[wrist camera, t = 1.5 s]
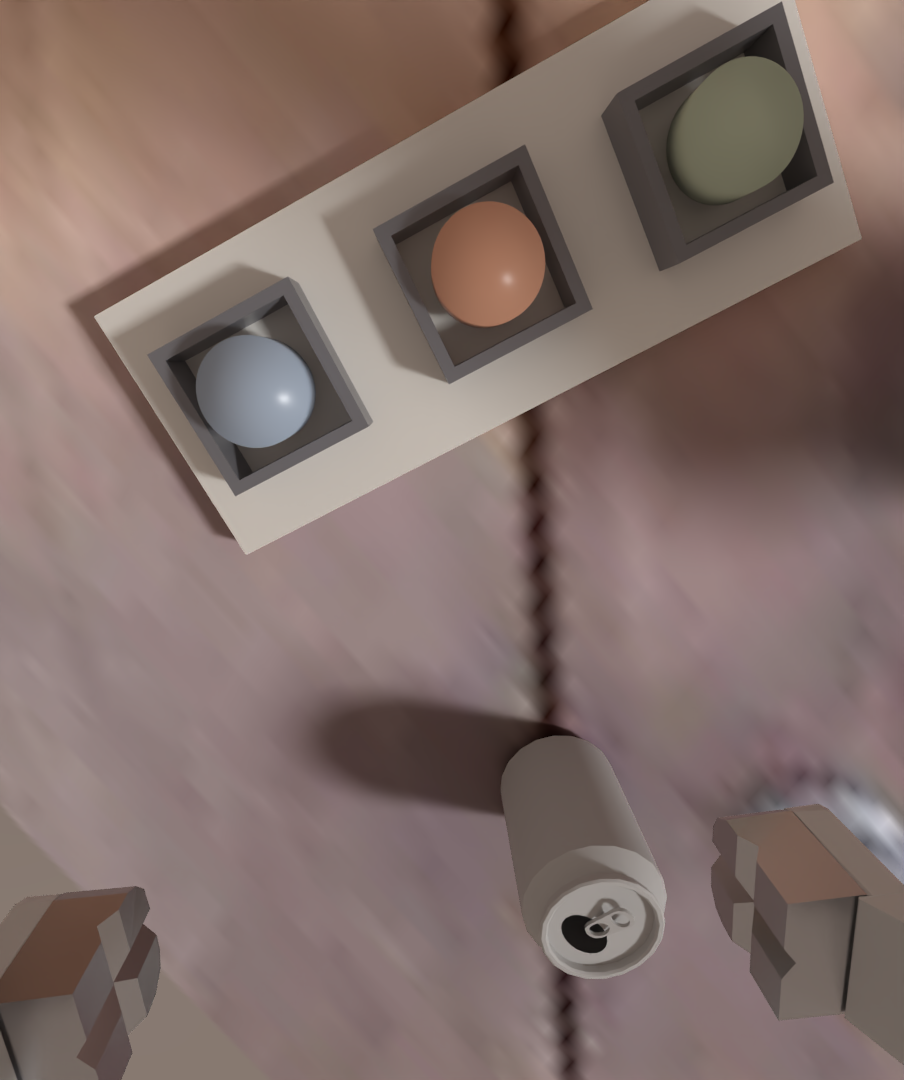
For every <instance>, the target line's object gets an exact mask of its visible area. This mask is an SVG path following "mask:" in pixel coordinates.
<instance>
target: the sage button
mask: <svg viewBox="0 0 904 1080" xmlns="http://www.w3.org/2000/svg"><path fill="white" fill-rule="evenodd" d="M803 123H804V111H803V103H802V99H801V95H800V92H799V89H798V87H797V85H796V83H795V81H794V80H793V78H792V77H791V76H790V74H789V73H788V72H787V71H786V70H785V69H784V68H783V67H781V66H780V65H779V64H777V63H775V62H773V61H772V60H769V59H766V58H762V57H757V56H747V57H741V58H737V59H734V60H731V61H729V62H727V63H725V64H723V65H722V66H720V67H719V68H717V69H716V70H715V71H714V72H712V73H711V74H710V75H709V76H708V77H707V78H706V79H705V80H704V81H703V82H702V83H701V84H700V85H699V86H698V87H697V88H696V90H695V91H694V92H693V93H692V94H691V95H690V96H689V97H688V98H687V99H686V100H685V101H684V102H683V103H682V105H681V106H680V107H679V109H678V110H677V112H676V114H675V116H674V118H673V120H672V122H671V125H670V128H669V132H668V137H667V145H666V155H667V163H668V167H669V170H670V173H671V176H672V178H673V180H674V181H675V183H676V185H677V186H678V187H679V189H680V190H681V191H682V192H683V193H684V194H685V195H686V196H688V197H689V198H691V199H692V200H694V201H696V202H698V203H702V204H705V205H724V204H728V203H732V202H734V201H736V200H738V199H740V198H742V197H744V196H746V195H748V194H750V193H752V192H754V191H756V190H758V189H759V188H761V187H763V186H765V185H767V184H768V183H770V182H771V181H773V180H774V179H775V178H776V177H778V176H779V174H780V173H781V172H782V171H783V170H784V169H785V168H786V167H787V165H788V164H789V163H790V161H791V159H792V158H793V156H794V154H795V152H796V150H797V148H798V145H799V142H800V139H801V135H802V130H803Z"/></svg>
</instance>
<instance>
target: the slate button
mask: <svg viewBox="0 0 904 1080" xmlns="http://www.w3.org/2000/svg"><path fill="white" fill-rule="evenodd" d="M196 395H197V400H198V404H199V407H200V409H201V412H202V414H203V416H204V417H205V419H206V420H207V422H208V423H209V425H210V426H211V427H212V428H213V429H214V430H215V431H216V432H217V433H218V434H219V435H221V436H222V437H224V438H225V439H227V440H228V441H230V442H232V443H235V444H237V445H240V446H244V447H251V448H263V447H269V446H272V445H275V444H277V443H280V442H282V441H284V440H285V439H287V438H289V437H291V436H293V435H294V434H296V433H297V432H298V431H300V430H301V429H302V428H303V427H304V425H305V424H306V423H307V421H308V420H309V418H310V416H311V414H312V412H313V409H314V405H315V398H316V390H315V383H314V379H313V376H312V373H311V371H310V369H309V367H308V365H307V363H306V362H305V360H304V359H303V358H302V357H301V355H300V354H298V353H297V352H296V351H295V350H294V349H293V348H291V347H290V346H288V345H287V344H285V343H283V342H281V341H278V340H275V339H272V338H267V337H261V336H254V335H240V336H234V337H231V338H228V339H226V340H223V341H221V342H220V343H218V344H217V345H215V346H214V347H213V348H212V349H211V350H210V351H209V352H208V353H207V354H206V356H205V357H204V359H203V360H202V362H201V365H200V367H199V370H198V373H197V378H196Z"/></svg>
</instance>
